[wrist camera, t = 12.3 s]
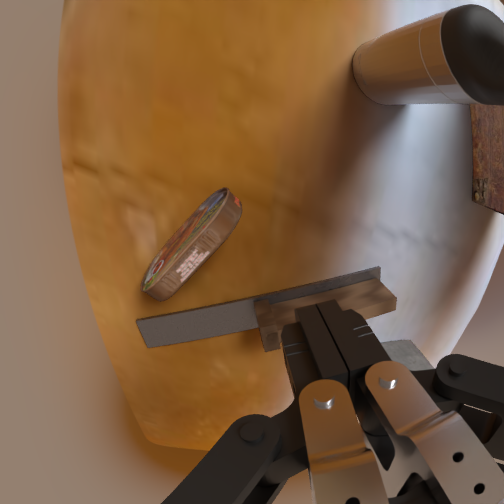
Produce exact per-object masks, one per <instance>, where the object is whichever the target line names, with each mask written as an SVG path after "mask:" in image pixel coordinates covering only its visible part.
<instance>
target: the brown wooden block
mask: <svg viewBox="0 0 504 504" xmlns="http://www.w3.org/2000/svg"><path fill="white" fill-rule="evenodd" d="M332 299H335V300H336V301H337V303H338V304H339V306H340V307H341V309H342V311H344V310H348V309H352V310H354V311H356V312H357V313H359V314H361V315H362V316H363V318H364V319H365V320H366V319H369V318H372V317H376V316H379V315H382V314H385V313H388V312H391V311H394V310H396V301H397V298H396V297H395V296H394V295H393V294H392V293H391V292H390V291H389V290H388V289H387V288H386V287H385V286H384V285H383V284H382V283H381V282H380V281H379V280H378V279H377V278H374V279H371V280H367V281H363V282H360V283H356V284H352V285H348V286H345V287H341V288H337V289H333V290H329V291H325V292H321V293H317V294H313V295H309V296H305V297H301V298H296V299H292V300H288V301H284V302H279V303H275V304H271V305H270V304H269V301H268V299H265V300H260V301H256V302H253V303H254V308H255V312H256V317H257V322H258V327H259V331H260V334H261V338H262V342H263V346H264V350H265V352H268V351H272V350H276V349H280V343H281V342H282V340H281V333H282V330H283V326H284V325H287V324H291V323H296V319H295V308H299V307H303V306H308V305H312V304H316V303H320V302H324V301H328V300H332Z"/></svg>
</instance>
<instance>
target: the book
mask: <svg viewBox="0 0 504 504" xmlns="http://www.w3.org/2000/svg"><path fill="white" fill-rule="evenodd" d="M470 112H471V125H472V144H473V189H472V201H473V202H475V203H478V204H480V205H482V206H485V207H487V208H489V209H492V210H494V211H496V212H499V213H501V214H503V215H504V106H502V105H482V104H470Z"/></svg>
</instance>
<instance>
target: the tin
mask: <svg viewBox="0 0 504 504" xmlns="http://www.w3.org/2000/svg"><path fill="white" fill-rule="evenodd" d="M241 214H242V204H241V202H240V201H239V200H238V199H237V198H236V197H235V196H234V195H233V194H232V193H231V192H230V191H229V189H228V188H222V189H220V190H218V191H216V192H215V193H213V194H212V195H211V196H210V197H208V198H207V199H206V200H205V201H204V202H203V203H202V204H201V205H200V206H199V207H198V209H197V210H196V211H195V212H194V213H193V214H192V215H191V216H190V217H189V218H188V219H187V221H186V222H185V223H184V224H183V225H182V226H181V227H180V228H179V229H178V231H177V232H176V233H175V234H174V235H173V236H172V237H171V238H170V240H169V241H168V242H167V243H166V244H165V245H164V246H163V248H162V249H161V250H160V251H159V253H158V254H157V256H156V257H155V258H154V260H153V261H152V263H151V264H150V266H149V268H148V270H147V272H146V274H145V276H144V278H143V280H142V283H141V291H143V292H145V293H147V294H148V295H150V296H151V297H153V298H154V299H156V300H158V301H165V300H167V299H169V298H170V297H171V296H172V295H174V294H175V293H176V292H177V291H178V290H179V289H180V288H181V287H182V286H183V285H184V284H185V283H186V282H187V281H188V280H189V279H190V277H191V276H192V275H193V274H194V273H195V272H196V271H197V270H198V269H199V268H200V267H201V266H202V265H203V264H204V263H205V262H206V261H207V260H208V259H209V257H210V256H211V255H212V254H213V253H214V252H215V251H216V250H217V249H218V248H219V247H220V246H221V245H222V244H223V243H224V241H225V240H226V239H227V238H228V237H229V235H230V234H231V233H232V231H233V230H234V228H235V227H236V225H237V223H238V221H239V219H240V217H241Z"/></svg>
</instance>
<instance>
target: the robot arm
mask: <svg viewBox="0 0 504 504" xmlns="http://www.w3.org/2000/svg"><path fill="white" fill-rule="evenodd" d="M352 66H353V73H354V77H355V80H356V82H357V84H358V86H359V87H360V89H361V90H362V92H363V93H364V94H365V95H366V96H367V97H369V98H370V99H371V100H373V101H375V102H377V103H379V104H383V105H402V104H482V105H502V106H504V23H503V21H502V20H501V19H500V18H499V17H498V16H496V15H495V14H494V13H493V12H491V11H490V10H488V9H487V8H485V7H482V6H479V5H473V4H468V5H463V6H460V7H456V8H453V9H450V10H447V11H444V12H441V13H438V14H435V15H432V16H430V17H427V18H424V19H421V20H419V21H416V22H413V23H411V24H408V25H406V26H403V27H401V28H398V29H396V30H394V31H391V32H389V33H386V34H384V35H382V36H379V37H377V38H375V39H373V40H371V41H368V42H366V43H364V44H363V45H361V46H360V47H359V48H358V49H357V51H356V52H355V55H354V58H353V64H352ZM295 319H296V323H291V324H287V325H284V326H283V330H282V333H281V340H282V346H283V352H284V359H285V365H286V368H287V372H288V375H289V380H290V383H291V387H292V391H293V394H294V398H295V399H294V401H293V402H292V404H291V405H290V406H289V407H288V408H287V409H286V410H284V411H283V412H281V413H279V414H277V415H275V416H273V417H271V418H270V417H268V416H265V415H259V414H253V415H247V416H244V417H241V418H240V419H238V420H236V421H235V422H234V423H233V424H232V425H231V426H230V427H229V428H228V430H227V431H226V432H225V433H224V434H223V436H222V437H221V438H220V439H219V440H218V442H217V443H216V444H215V445H214V446H213V447H212V449H211V450H210V451H209V452H208V453H207V455H206V456H205V457H204V458H203V459H202V460H201V461H200V462H199V463H198V465H197V466H196V467H195V468H194V469H193V470H192V471H191V472H190V474H189V475H188V476H187V477H186V478H185V479H184V480H183V481H182V482H181V483H180V484H179V485H178V487H177V488H176V489H175V490H174V491H173V492H172V493H171V494H170V495H169V496H168V497H167V498H166V499H165V500H164V501H163V502H162V503H161V504H272V502H273V501H274V500H275V498H276V496H277V495H278V494H279V492H280V491H281V489H282V488H283V486H284V485H285V483H286V482H287V480H288V478H290V477H292V476H294V475H295V474H298V473H299V472H301V471H303V470H305V469H307V468H308V473H309V479H310V485H311V492H312V500H313V504H504V465H503V464H500V463H497V462H495V461H494V459H493V458H496V459H499V460H503V461H504V367H501V366H498V365H494V364H491V363H487V362H484V361H481V360H477V359H474V358H471V357H467V356H464V355H460V354H451V355H448V356H445V357H443V358H442V359H441V360H440V361H439V363H438V364H437V367H436V369H428V370H419V371H412V370H409V369H408V368H407V367H406V366H404V365H403V364H401V363H399V362H395V361H392V360H391V358H390V357H389V355H388V354H387V352H386V351H385V349H384V348H383V346H382V345H381V343H380V342H379V340H378V339H377V337H376V336H375V334H374V333H373V331H372V330H371V328H370V327H369V326H368V324H367V322H366V321H365V319H364V318H363V316H362V315H361V314H359V313H357V312H356V311H354V310H352V309H348V310H344V311H342V309H341V307H340V306H339V304H338V303H337V301H336V300H335V299H332V300H328V301H324V302H320V303H316V304H312V305H308V306H303V307H299V308H295ZM464 404H466V405H469V406H473V407H476V408H479V409H482V410H485V411H489V412H492V413H488V412H484V411H481V410H478V409H475V408H472V407H468V406H465V405H464ZM356 415H357V417H358V419H359V423H358V420H357V417H356ZM492 457H493V458H492Z"/></svg>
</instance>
